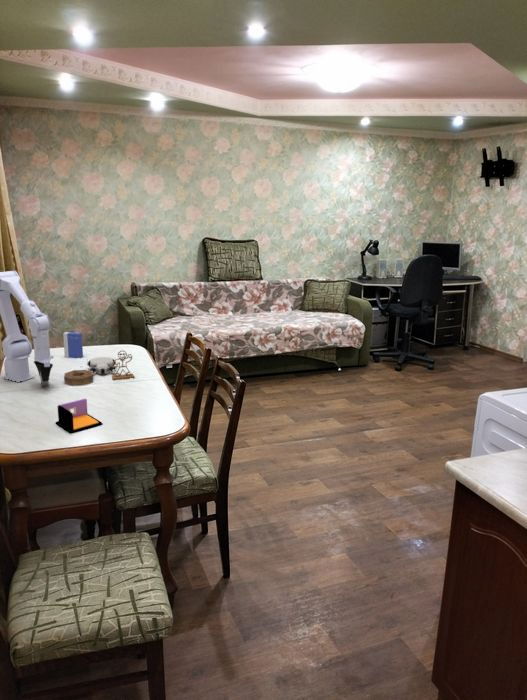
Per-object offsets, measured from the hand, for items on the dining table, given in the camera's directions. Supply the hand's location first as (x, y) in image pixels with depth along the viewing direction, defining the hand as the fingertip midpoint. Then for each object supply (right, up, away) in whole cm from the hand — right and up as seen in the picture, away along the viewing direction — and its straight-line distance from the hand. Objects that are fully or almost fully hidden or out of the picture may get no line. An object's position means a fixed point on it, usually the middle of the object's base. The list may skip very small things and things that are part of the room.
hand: (44, 379), depth 216 cm
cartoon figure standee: (+28, 0, +14) cm, 31 cm away
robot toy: (+17, +2, +22) cm, 28 cm away
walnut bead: (+11, -1, +8) cm, 14 cm away
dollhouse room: (+25, -14, -33) cm, 44 cm away
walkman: (-2, +8, +41) cm, 41 cm away
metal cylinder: (0, -3, +1) cm, 3 cm away
